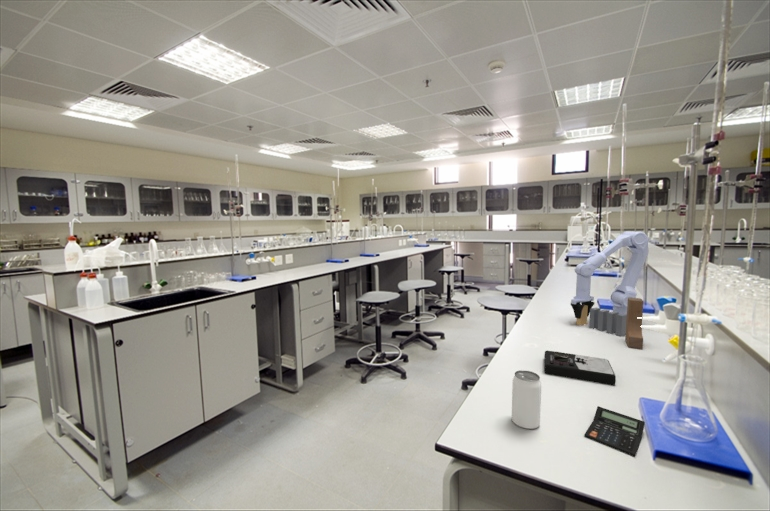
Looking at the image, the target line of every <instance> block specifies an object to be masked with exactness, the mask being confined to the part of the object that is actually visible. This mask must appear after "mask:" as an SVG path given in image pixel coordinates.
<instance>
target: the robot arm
mask: <svg viewBox="0 0 770 511" xmlns="http://www.w3.org/2000/svg"><path fill="white" fill-rule="evenodd" d="M649 240H650V238H649V237H648V235H647V233H645V232H644V231H632V230H627V231H623V232H622V233H621V234H619V235H617V237H616V238H615V239H614V240H613V241H612V242H611V243H609V245H608V246H606V247H605V248H604V249H603V250H602V251H601V252H598V251H597V252H593V253H591V255H590V256H589V257H588V258H587V259H586V260H583V261H582V263H578V264H576V267H575V268H574V273H576V282H575V284H576V286H575V287H576V288H575V296H573V298H572V299H571V301H570V306H571V308H572V310H573V313H574V318H576V319H577V318H578V319H580V318H581V313H582V309H583V307H584V305H587V306H588V312H587V318H588V317H590V309H591V308H593V306H595V301H594V300H595V298H594V297H595V296H591V281H592V276H593V274H594V273H595V271H596V270H597V269H598V268H600V267H601V266H602V265H603V264H605V263H606V262H607V258H608V257H610V256H611V255H612V254H614V253H616V252H617V251H618V250H620V249H621V248H624V247H627V248H628V249H629V250H630V251H631V257H630V259H629V261H628V264H627V266H626V269H625V272H624V275H623V277H622V280H621V281H620V282H621V283H620V284H619V285H618V286H616V287H615V289H614V291H612V292H611V294H610V300H611V301H612V312H613V311H615V312H619V314H622V313H624V314H627V304H628V298H637V296H638V295H637V294H638V293H637V291H636V290H635V288H636V286H637V283H638V281H639V278H640V275H641V273H642V270H643V269H644V268H643V267H644V265H645V262H646V260H647V258H648V255H649V253H650V252H649Z"/></svg>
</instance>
